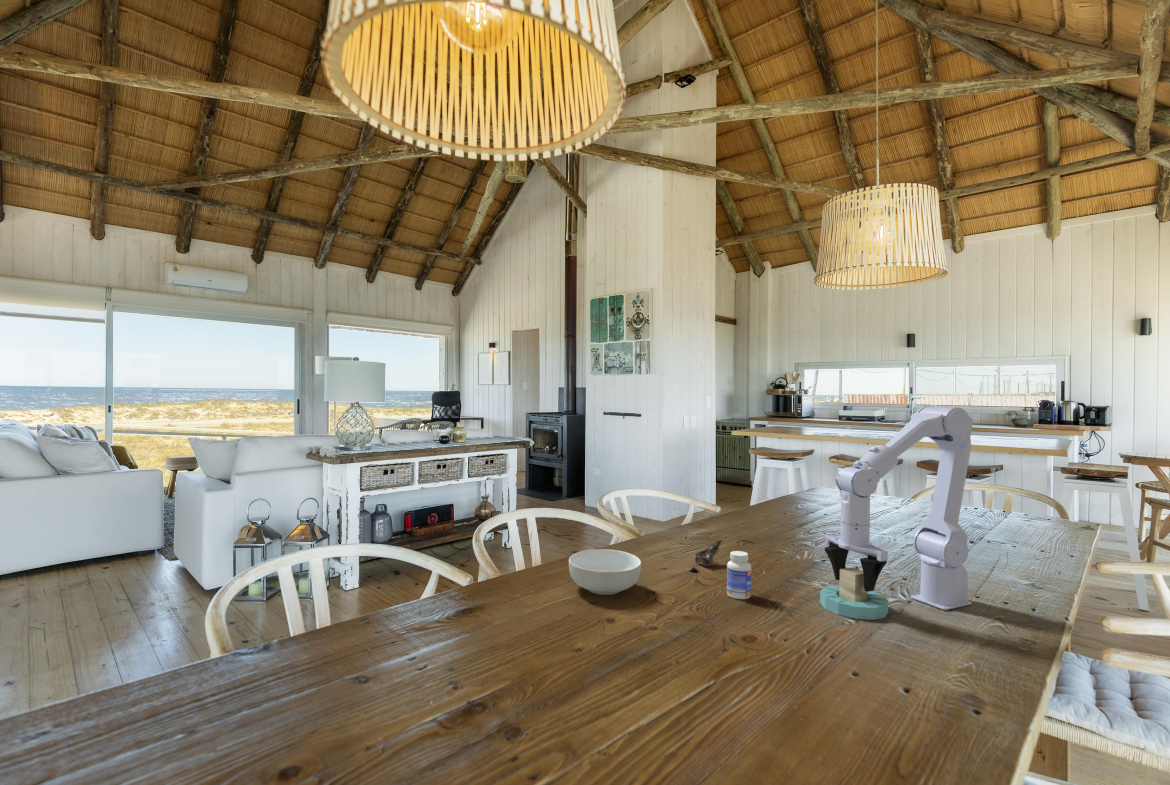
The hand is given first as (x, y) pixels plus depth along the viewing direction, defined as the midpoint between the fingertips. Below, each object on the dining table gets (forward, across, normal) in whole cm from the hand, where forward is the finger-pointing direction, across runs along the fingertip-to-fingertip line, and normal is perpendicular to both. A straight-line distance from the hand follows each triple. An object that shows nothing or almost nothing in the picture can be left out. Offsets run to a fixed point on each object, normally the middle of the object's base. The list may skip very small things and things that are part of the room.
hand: (854, 584), depth 122 cm
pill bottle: (+5, -15, -19) cm, 25 cm away
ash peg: (+5, 0, 0) cm, 5 cm away
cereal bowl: (+5, -30, -46) cm, 55 cm away
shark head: (+5, -36, -11) cm, 38 cm away
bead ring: (+5, 0, 0) cm, 5 cm away
